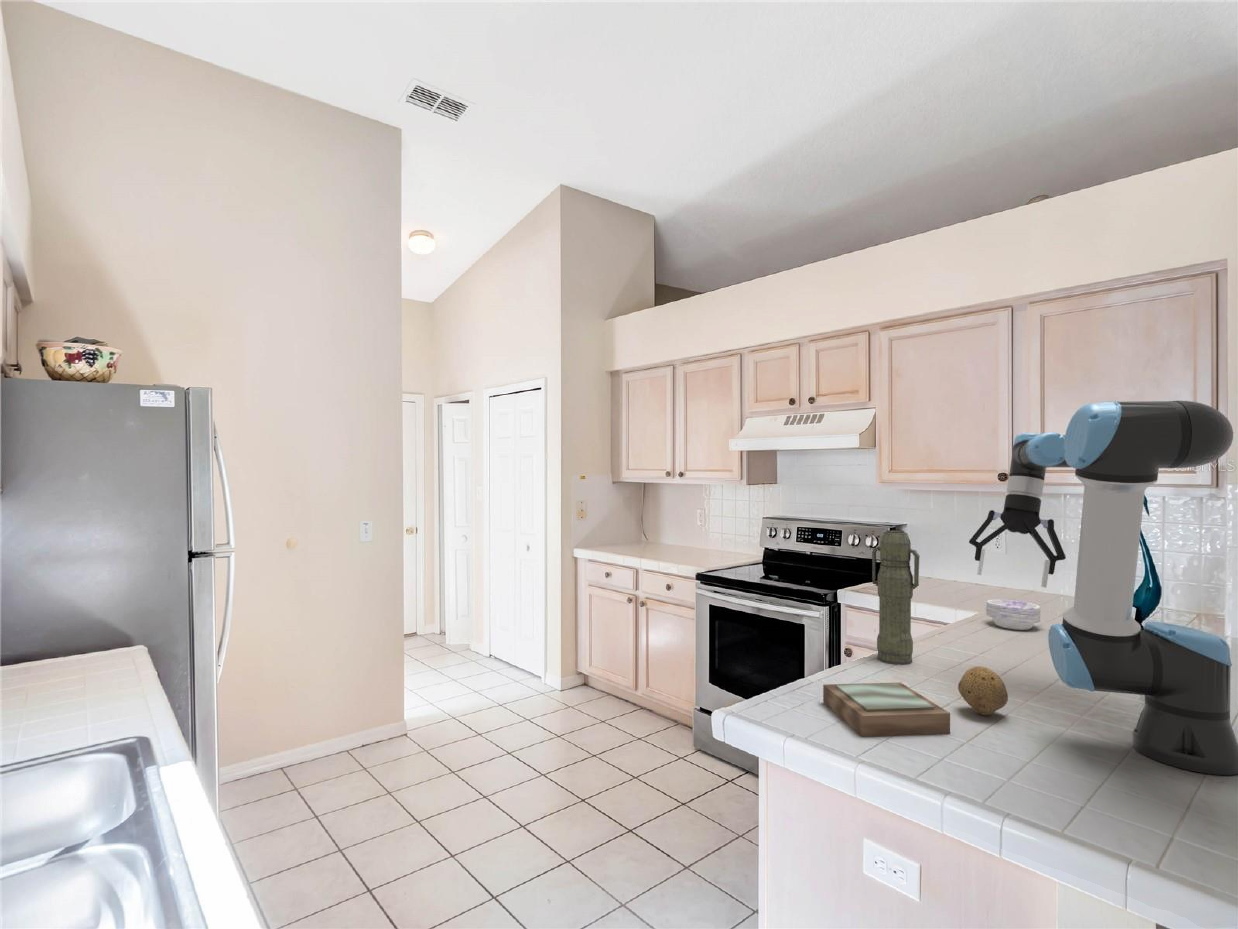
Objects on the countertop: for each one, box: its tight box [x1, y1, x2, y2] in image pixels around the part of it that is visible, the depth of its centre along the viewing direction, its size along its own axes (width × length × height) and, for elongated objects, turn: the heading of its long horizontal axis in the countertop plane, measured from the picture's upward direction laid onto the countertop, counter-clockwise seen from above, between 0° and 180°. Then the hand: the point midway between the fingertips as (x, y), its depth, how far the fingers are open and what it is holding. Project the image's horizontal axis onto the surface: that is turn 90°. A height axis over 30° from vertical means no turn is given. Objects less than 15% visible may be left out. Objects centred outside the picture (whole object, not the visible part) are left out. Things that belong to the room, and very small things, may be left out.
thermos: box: [871, 529, 920, 666], centre depth 173 cm, size 9×12×35 cm
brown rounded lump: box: [957, 666, 1009, 716], centre depth 135 cm, size 9×9×10 cm
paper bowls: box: [985, 599, 1041, 631], centre depth 211 cm, size 15×15×8 cm
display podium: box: [822, 681, 951, 738], centre depth 133 cm, size 18×18×4 cm
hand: (1010, 581), depth 156 cm, fingers open, 13 cm apart
